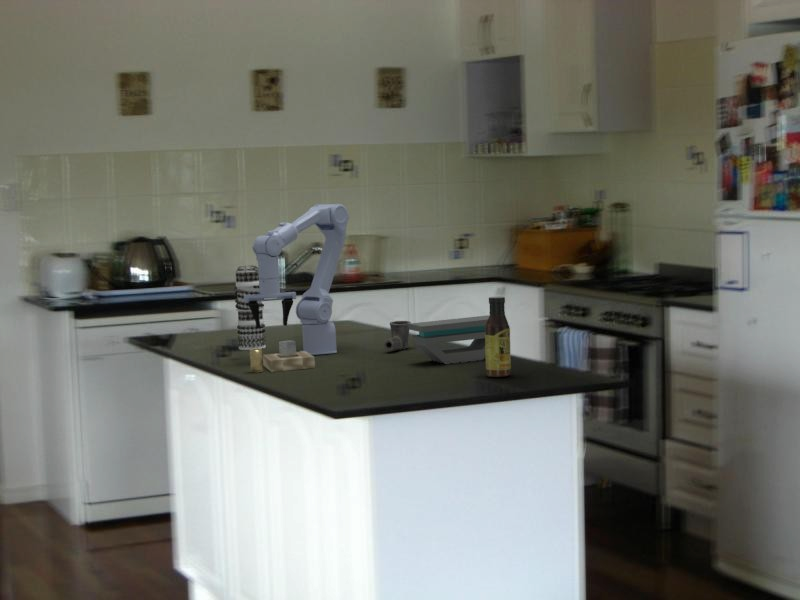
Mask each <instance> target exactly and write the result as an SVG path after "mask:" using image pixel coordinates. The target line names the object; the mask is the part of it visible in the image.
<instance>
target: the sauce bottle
mask: <svg viewBox="0 0 800 600" xmlns="http://www.w3.org/2000/svg"><path fill="white" fill-rule="evenodd" d="M488 304H489V315H490V316H489V318H488V320H487V322H486V325H485V329H486V330H485V331H486V334H485V354H486V357H485V370H486V375H487V377H489V378H501V377H503V378H504V377H508V376H510V374H511V368H512V365H511V358H512V357H511V327H510V325H509V322H508V319H507V316H506V314H505V304H506V297H505V296H489V297H488Z"/></svg>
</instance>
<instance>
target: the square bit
mask: <svg viewBox="0 0 800 600" xmlns="http://www.w3.org/2000/svg"><path fill="white" fill-rule="evenodd" d="M296 344H297V343H296V340H288V339H287V340H282V341H278V349H279V350H278V352H279V354H280V358H286V357H296V352H297V347H296Z"/></svg>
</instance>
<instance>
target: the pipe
mask: <svg viewBox="0 0 800 600" xmlns="http://www.w3.org/2000/svg"><path fill="white" fill-rule="evenodd" d="M410 323H412V322H411V321H408V320H396V321H391V322H389V325H390V334H391V335H390V336H391V338H390V337H388V338H386V339H385V340H384V348H385V351H387V352H395V351H402V349H404V350H407V349H408V347H409V334H410V329H409V324H410ZM406 348H407V349H406Z"/></svg>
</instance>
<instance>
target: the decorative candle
mask: <svg viewBox="0 0 800 600" xmlns="http://www.w3.org/2000/svg"><path fill="white" fill-rule="evenodd" d="M233 291H234V293H233V294H234V295H233V296H234V297H235V298H236V299H235V300H234V303H236V304H235V308H236V309H235V310H236V312H237V326H236V328H237V329H238V330H237V334H238V336H237V340H238V342H237V344H238V345H239V346H238V350H241V351H250V350H252V349H262V348H263V349H265V348H266V347H267V345H266V343H267V340H266V334H264V333H265V332H266V329H264V328H265V327H266V324H265V321H264V314H263V310H264V309H265V304H264V303H263V301H259V302H257V303H258V304H259V320H260V328H257V327H256V322H255V319H254V316H253V314H252V311H251V309H250V308H249V306H248V303H245V302H244V295H254V294H260V290H259V273H258V265H240V266H238V267H237V269H236V270H235V287H234V288H233ZM263 349H262V350H263Z"/></svg>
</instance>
